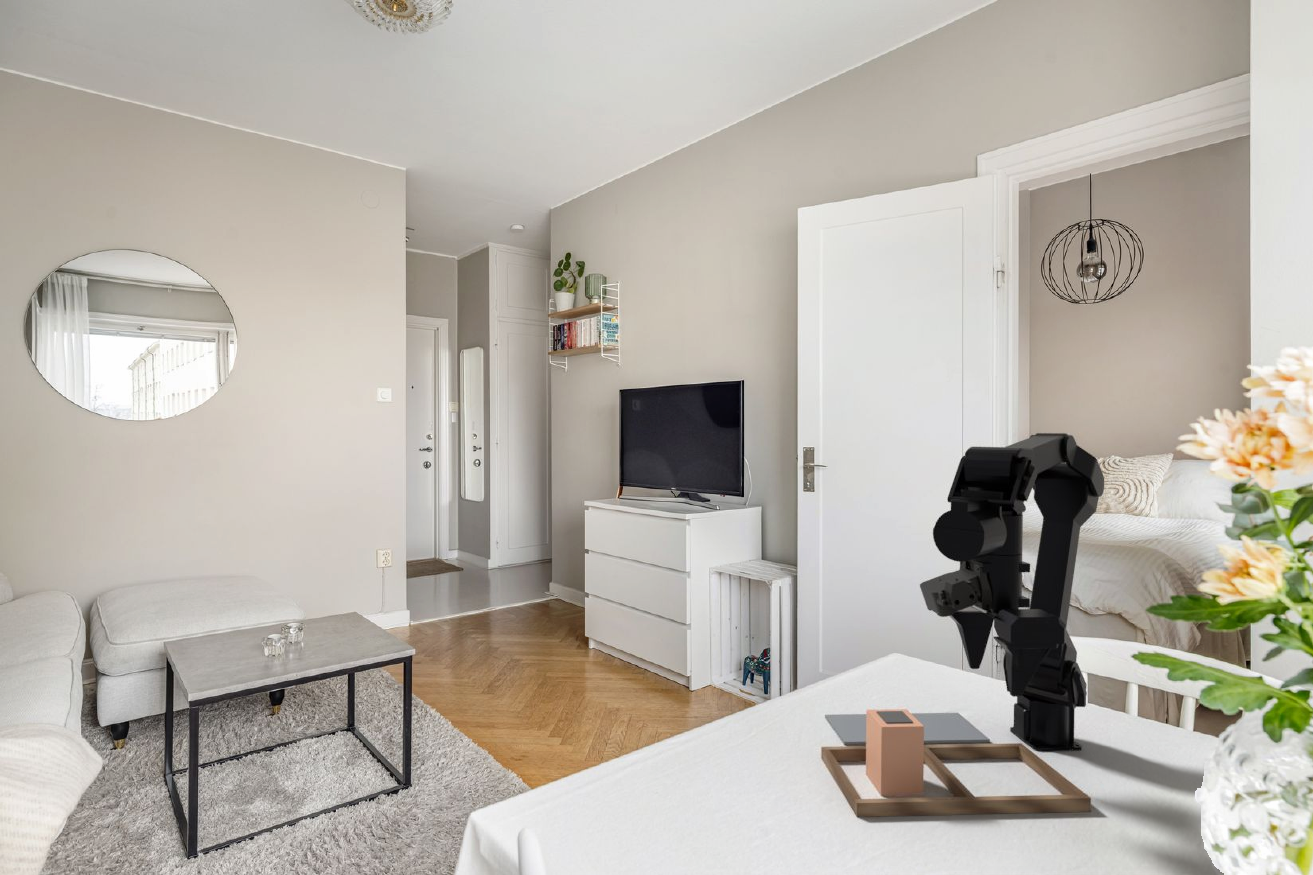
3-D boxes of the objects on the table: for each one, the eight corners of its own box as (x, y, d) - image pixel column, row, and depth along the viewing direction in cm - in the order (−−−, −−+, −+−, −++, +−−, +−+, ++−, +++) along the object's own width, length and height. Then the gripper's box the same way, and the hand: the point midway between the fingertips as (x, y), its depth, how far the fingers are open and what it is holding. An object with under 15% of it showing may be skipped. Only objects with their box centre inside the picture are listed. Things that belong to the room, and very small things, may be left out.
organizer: (1021, 754, 92) (1021, 743, 92) (1090, 811, 78) (1090, 797, 78) (821, 758, 90) (821, 746, 90) (856, 816, 77) (856, 802, 77)
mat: (958, 715, 104) (958, 712, 104) (989, 742, 95) (989, 739, 95) (824, 717, 103) (824, 714, 103) (844, 744, 94) (844, 741, 94)
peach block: (905, 773, 86) (906, 707, 86) (923, 794, 82) (924, 724, 81) (865, 774, 86) (866, 708, 86) (880, 795, 81) (881, 725, 81)
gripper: (898, 539, 93) (897, 657, 93) (968, 566, 74) (966, 713, 75) (980, 539, 94) (978, 656, 94) (1070, 566, 75) (1068, 712, 75)
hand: (993, 681), depth 84 cm, fingers open, 9 cm apart
